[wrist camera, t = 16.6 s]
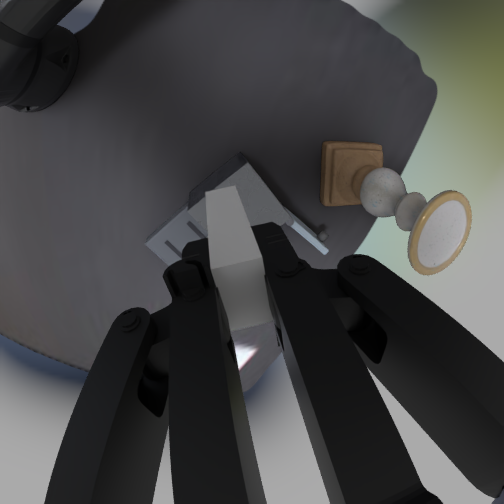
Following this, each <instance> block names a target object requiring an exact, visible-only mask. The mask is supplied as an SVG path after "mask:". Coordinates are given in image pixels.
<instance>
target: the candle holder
mask: <svg viewBox="0 0 504 504" xmlns="http://www.w3.org/2000/svg"><path fill="white" fill-rule="evenodd" d="M320 202H321V203H322V204H323V205H324V206H342V205H358V204H362V205H363V207H364V209H365V210H366V211H367V212H368V213H370V214H371V215H374V216H376V217H390V216H395V217H396V223H397V225H398V226H399V228H400V229H402V230H404V231H411V232H410V236H409V241H408V258H409V261H410V264H411V266H412V267H413V268H414V270H415V271H417V272H418V273H419V274H422V275H433V274H436V273H438V272H440V271H442V270H444V269H445V268H446V267H448V266H449V265H450V264H451V263H452V262H453V261H454V260H455V258H456V257H457V256H458V255H459V253H460V252H461V250H462V249H463V247H464V245H465V243H466V241H467V238H468V235H469V232H470V228H471V222H472V213H471V207H470V204H469V201H468V200H467V198H466V197H465V196H464V195H463V194H461V193H459V192H457V191H452V190H448V191H444V192H441V193H439V194H437V195H436V196H434V197H433V198H432V199H431V200H430V201H429V202H428V203H427V202H426V199H425V197H424V196H423V195H422V194H420V193H417V192H412V193H409V194H407V192H406V188H405V184H404V182H403V180H402V178H401V177H400V176H399V174H397V173H396V172H395V171H394V170H392V169H389V168H385V167H383V152H382V146H381V145H378V144H375V143H368V142H348V141H324V142H323V143H322V154H321V181H320Z"/></svg>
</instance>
